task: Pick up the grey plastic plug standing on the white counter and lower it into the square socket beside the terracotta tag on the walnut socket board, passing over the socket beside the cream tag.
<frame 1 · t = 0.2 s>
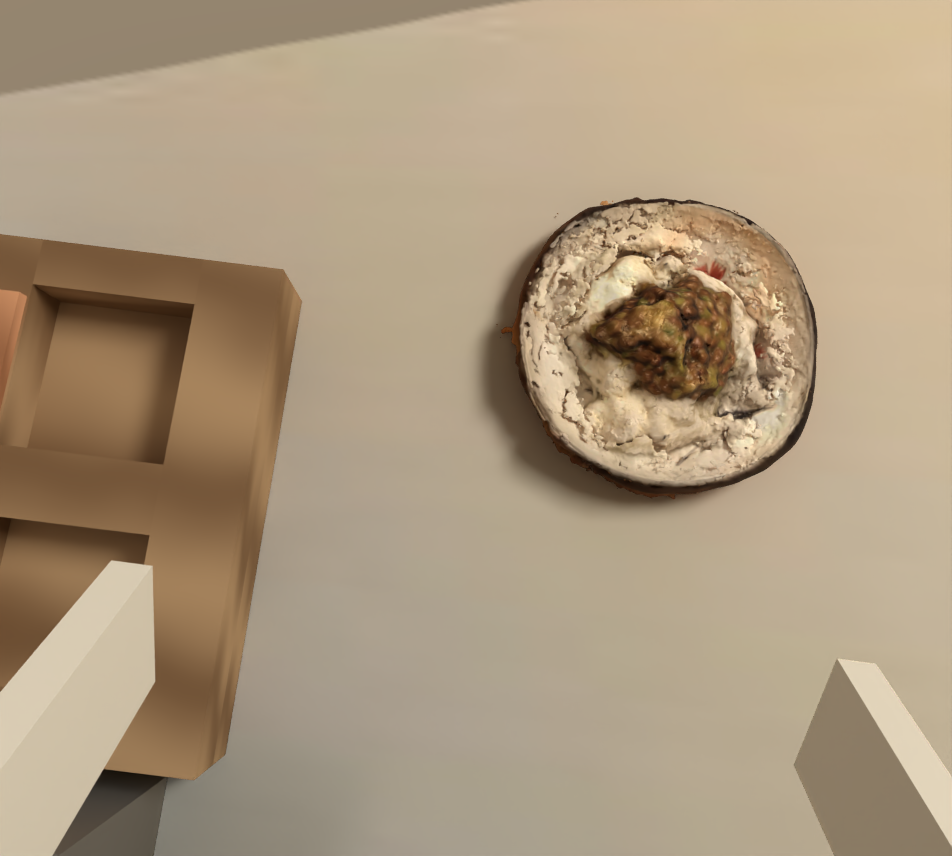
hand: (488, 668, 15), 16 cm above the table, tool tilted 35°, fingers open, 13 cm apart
plug: (103, 826, 29), on the table
socket board: (115, 497, 31), on the table
sushi roll: (654, 350, 33), on the table
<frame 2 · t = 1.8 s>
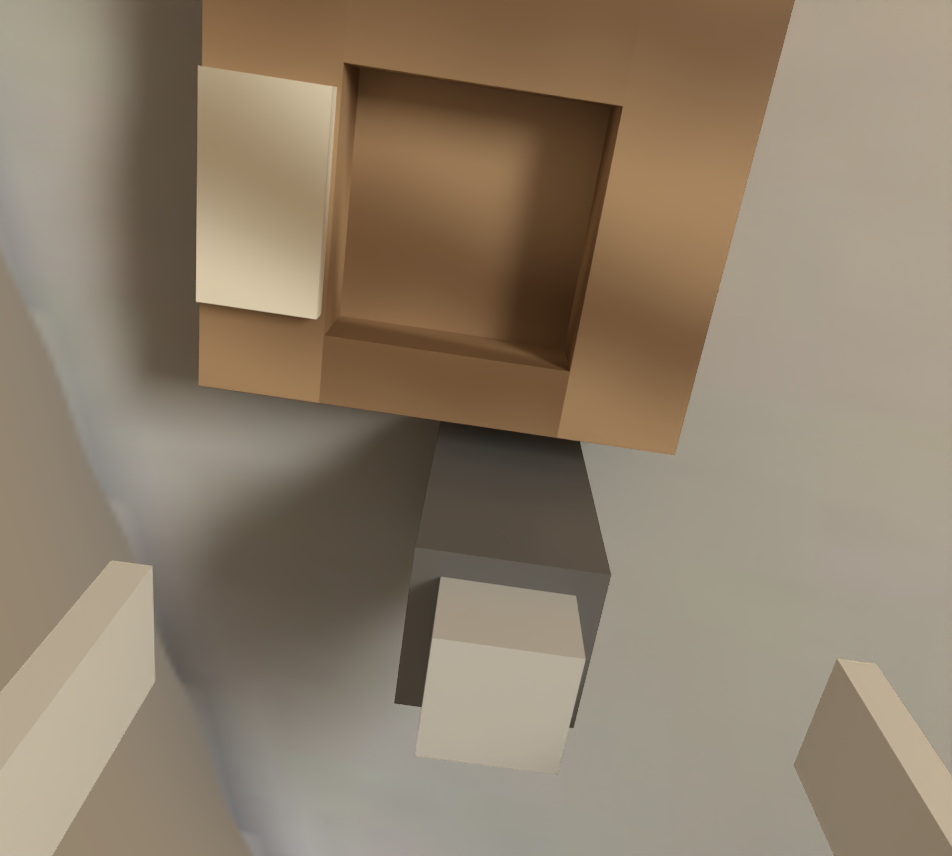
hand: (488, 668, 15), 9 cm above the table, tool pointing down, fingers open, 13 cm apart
plug: (499, 478, 24), on the table
socket board: (494, 35, 19), on the table
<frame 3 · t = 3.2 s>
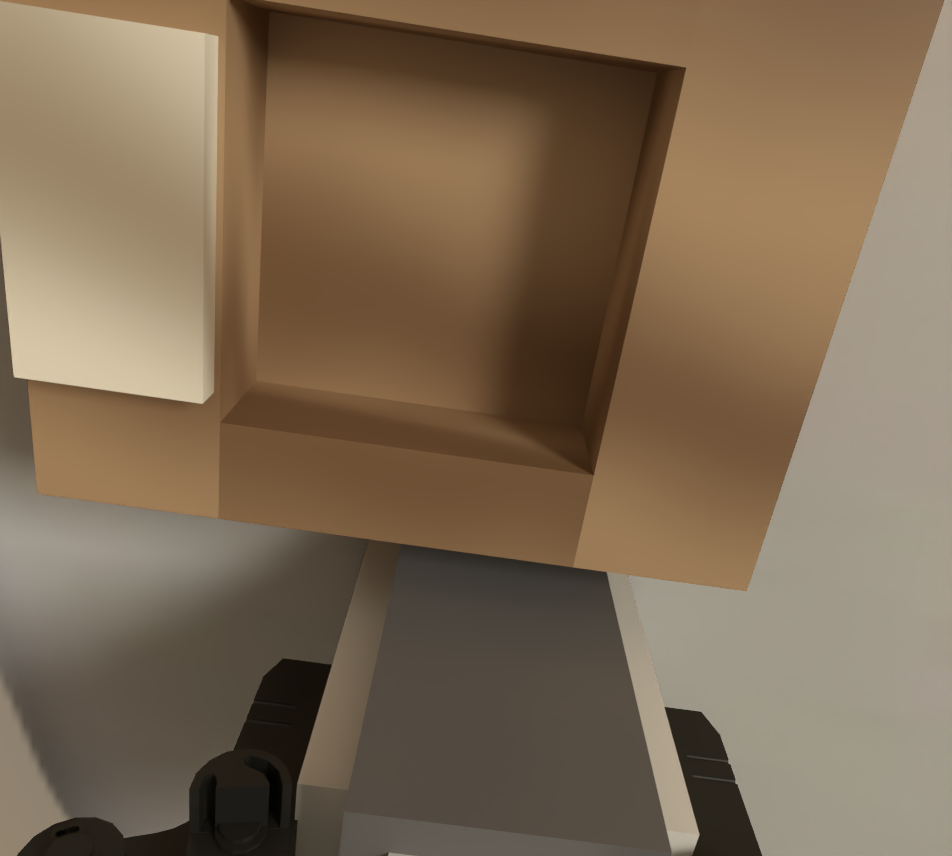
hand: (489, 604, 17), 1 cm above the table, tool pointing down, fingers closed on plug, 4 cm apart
plug: (489, 586, 17), on the table, touching gripper
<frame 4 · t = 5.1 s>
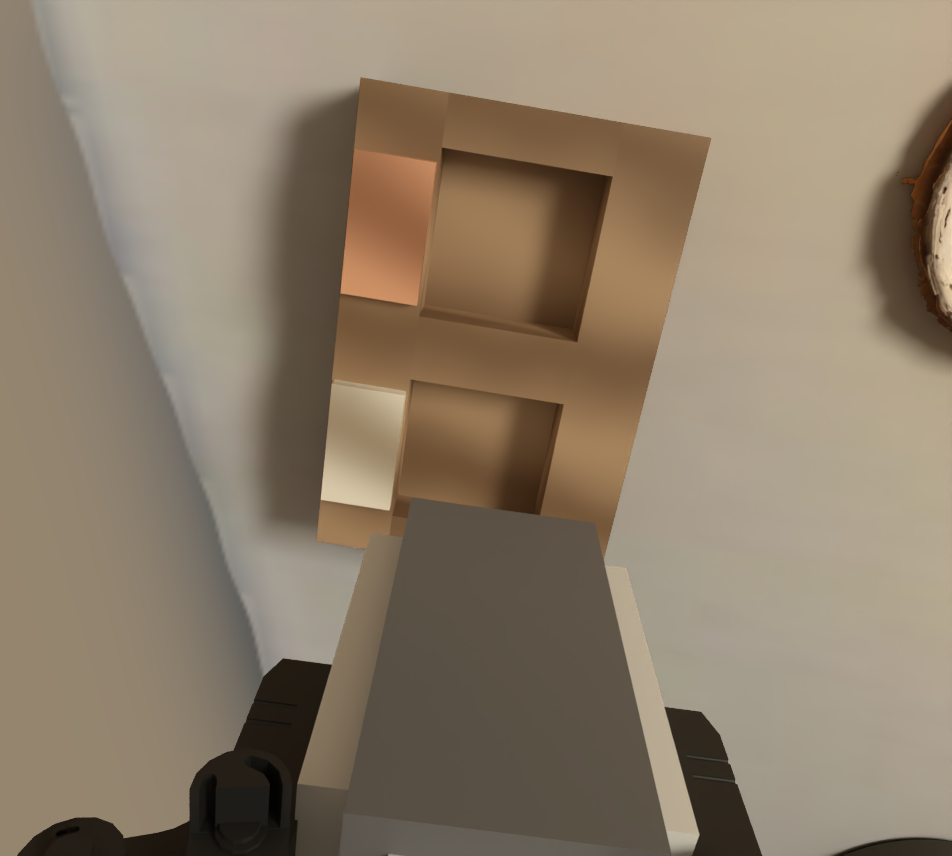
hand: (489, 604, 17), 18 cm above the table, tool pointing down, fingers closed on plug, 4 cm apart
plug: (489, 587, 17), point 17 cm above the table, touching gripper
socket board: (493, 337, 33), on the table
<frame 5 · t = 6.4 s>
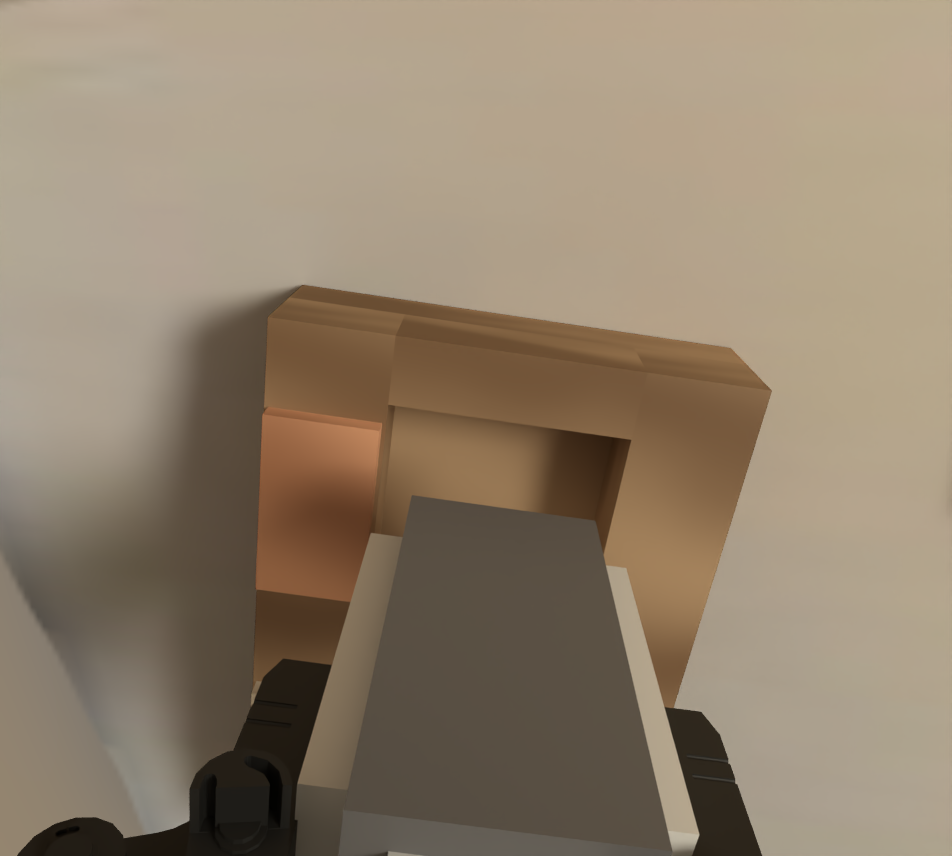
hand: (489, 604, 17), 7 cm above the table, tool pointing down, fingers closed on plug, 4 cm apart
plug: (490, 585, 17), point 6 cm above the table, touching gripper
socket board: (472, 587, 25), on the table
when the fingers open (4 cm above the table, at t = 7.2 s): plug drops 2 cm, resting on socket board.
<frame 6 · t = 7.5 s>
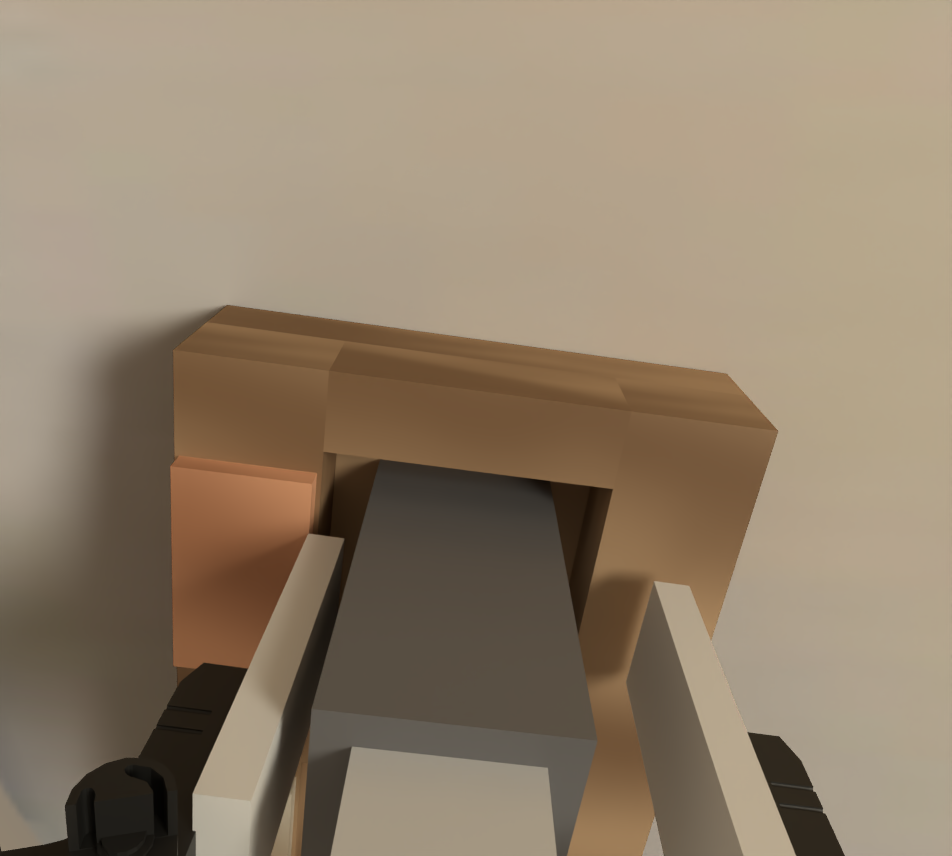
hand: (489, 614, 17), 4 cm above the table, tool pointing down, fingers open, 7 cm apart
plug: (454, 542, 19), point 1 cm above the table, touching socket board
socket board: (435, 643, 22), on the table
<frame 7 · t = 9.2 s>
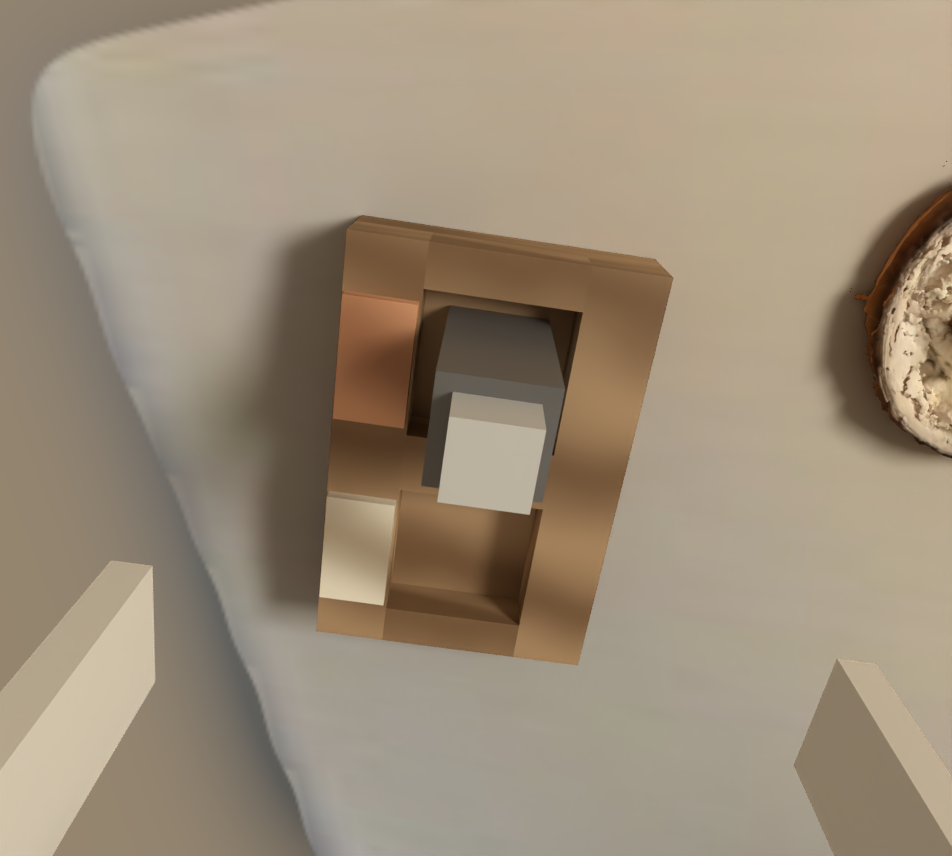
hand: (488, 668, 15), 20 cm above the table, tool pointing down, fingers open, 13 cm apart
plug: (492, 359, 32), point 1 cm above the table, touching socket board
socket board: (477, 438, 35), on the table
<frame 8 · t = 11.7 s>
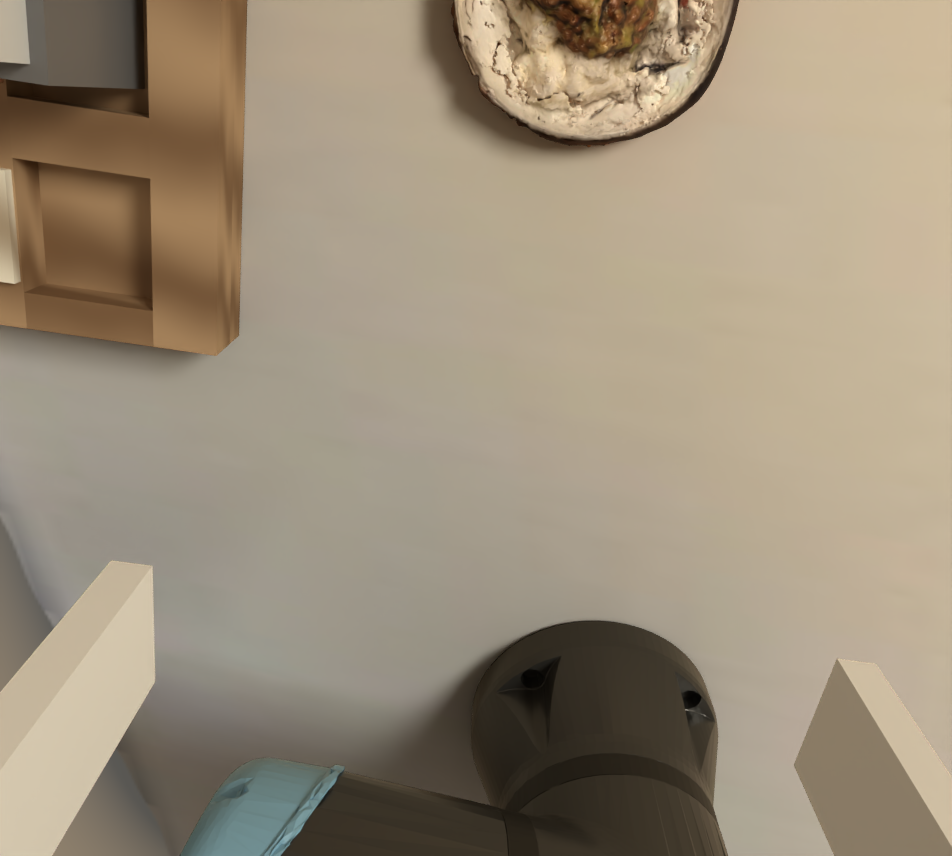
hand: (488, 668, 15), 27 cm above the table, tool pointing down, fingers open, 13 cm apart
plug: (97, 32, 34), point 1 cm above the table, touching socket board
socket board: (116, 135, 37), on the table
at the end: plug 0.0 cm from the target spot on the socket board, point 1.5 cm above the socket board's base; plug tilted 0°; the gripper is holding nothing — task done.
